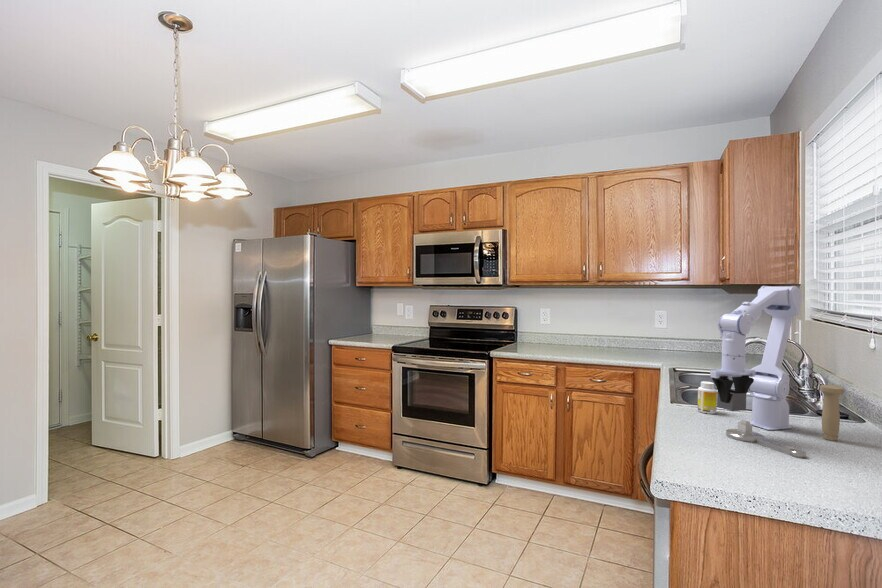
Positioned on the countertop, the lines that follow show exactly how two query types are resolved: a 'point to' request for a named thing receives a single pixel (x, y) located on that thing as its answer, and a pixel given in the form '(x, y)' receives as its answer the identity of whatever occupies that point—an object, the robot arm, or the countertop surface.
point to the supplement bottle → (707, 398)
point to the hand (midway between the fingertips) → (732, 401)
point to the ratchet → (761, 439)
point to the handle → (831, 411)
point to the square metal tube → (733, 401)
